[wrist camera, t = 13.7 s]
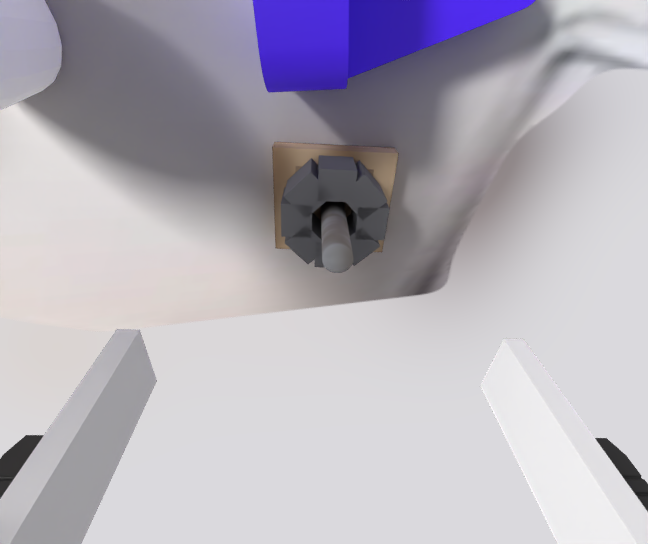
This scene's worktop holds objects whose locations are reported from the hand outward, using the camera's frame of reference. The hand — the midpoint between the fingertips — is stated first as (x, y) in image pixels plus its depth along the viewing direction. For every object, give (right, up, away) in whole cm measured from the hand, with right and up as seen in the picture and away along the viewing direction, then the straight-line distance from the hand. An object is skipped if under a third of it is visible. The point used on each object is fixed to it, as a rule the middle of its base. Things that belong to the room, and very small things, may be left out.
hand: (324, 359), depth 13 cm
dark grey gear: (+1, +10, +19) cm, 22 cm away
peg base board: (+1, +11, +21) cm, 24 cm away
